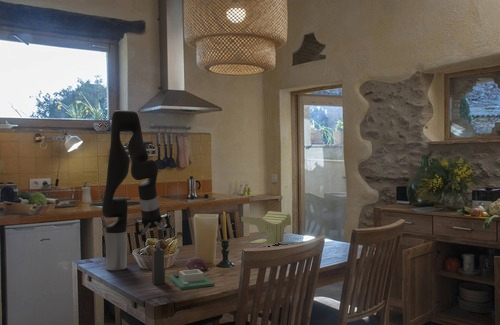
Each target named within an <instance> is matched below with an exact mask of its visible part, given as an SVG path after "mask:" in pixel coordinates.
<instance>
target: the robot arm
mask: <svg viewBox="0 0 500 325" xmlns="http://www.w3.org/2000/svg"><path fill="white" fill-rule="evenodd" d="M140 121H141V120H140V118H139V115H138V113H137V112H136V111H134V110H125V109H124V110H119V109H118V110H117V109H116V110H114V111H113V113H112V116H111V128H110V130H111V131H110V148H109V153H108V154H109V155H108V160H107V162H108V163H107V173H106V184H105V190H104V194H103V200H102V206H101V207H102V208H101V210H102V211H101V212H102V216H103V217H104V218H106V219H108V218H109V219H110V218H111V219H112V218H117V219H116V220H115V221H114V222H112V223H110V224H108V225H107V226H105V227H106V228H105V256H106V257H105V265H106V267H105V269H106V270H107V271H122V270H125V269H127V261H128V260H127V258H128V257H127V255H128V254H127V252H128V251H127V247H128V246H127V241H128V240H127V226H128V209H129V208H128V200H127V199H126V197H123V196H120V197H119V196H117V197H115V196H114V195H115V194H116V191H117V190H118V188H119V186H121V185H122V183H124V180H125V179H126V178H127V176H128V174H129V170H130V174H131V177H132V178H133V179H134V180H135V181H141V180H144V181H142V182H140V183H139V185H138V186H137V190H138V194H139V195H138V197H139V206H140V207H139V208H140V212H141V213H140V215H141V220H140V219H139V220H138V219H134V227H135V228H134V229H135V233H136V235H137V236H141V237H140V238H141V241H142V242H144V243H146V236H145V233H146V232H147V231H148V229H149V230H150V229H152V228H153V229H154V228H157V227H159V228H160V229H161V230H162V236H163V238H166V236H168V232H167V229H171V225H170V224H171V223H170V218H169V215H168V213H164V214H163V215H161V211H160V203H159V198H158V193H157V192H158V191H157V186H156V185H157V178H158V172H159V166H158V164H157V162H156V161H155V160H153V159H149V153H148V151H147V148H146V146H145V143H144V139H143V133H142V132H143V131H142V127H141V122H140ZM121 132H122V133H123V132H125V133H127V132H128V133H132V135H131V138H130V139H129V140H128V144H127V150H126V149H125V147H124V146H123V143H122V140H121ZM127 151H128V152H127ZM128 153H129V154H128ZM130 162H131V166H130ZM129 168H130V169H129ZM162 220H163V221H165V223H166V224H164V223H162ZM141 224H142V226H141ZM140 226H141V228H140Z"/></svg>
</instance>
